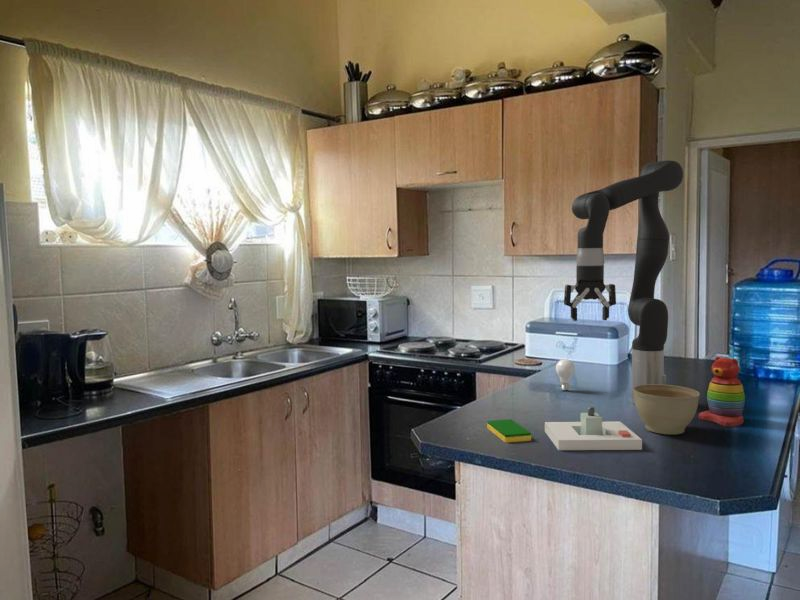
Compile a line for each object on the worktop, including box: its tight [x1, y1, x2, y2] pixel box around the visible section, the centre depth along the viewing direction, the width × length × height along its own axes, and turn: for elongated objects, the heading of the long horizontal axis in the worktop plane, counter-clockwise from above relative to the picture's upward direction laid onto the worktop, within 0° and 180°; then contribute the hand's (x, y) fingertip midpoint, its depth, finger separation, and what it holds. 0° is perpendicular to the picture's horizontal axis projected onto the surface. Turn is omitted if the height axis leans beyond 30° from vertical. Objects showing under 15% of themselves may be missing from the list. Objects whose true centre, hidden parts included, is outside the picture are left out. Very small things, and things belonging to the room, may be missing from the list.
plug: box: [579, 406, 603, 435], centre depth 156 cm, size 4×5×8 cm
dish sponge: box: [486, 418, 532, 443], centre depth 163 cm, size 7×14×2 cm, turn 11°
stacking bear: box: [698, 356, 746, 428], centre depth 171 cm, size 11×10×18 cm
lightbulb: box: [555, 358, 576, 392], centre depth 212 cm, size 6×6×11 cm
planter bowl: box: [633, 384, 701, 436], centre depth 163 cm, size 16×16×11 cm
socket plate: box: [544, 420, 643, 451], centre depth 156 cm, size 20×16×3 cm
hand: (589, 320), depth 177 cm, fingers open, 8 cm apart
